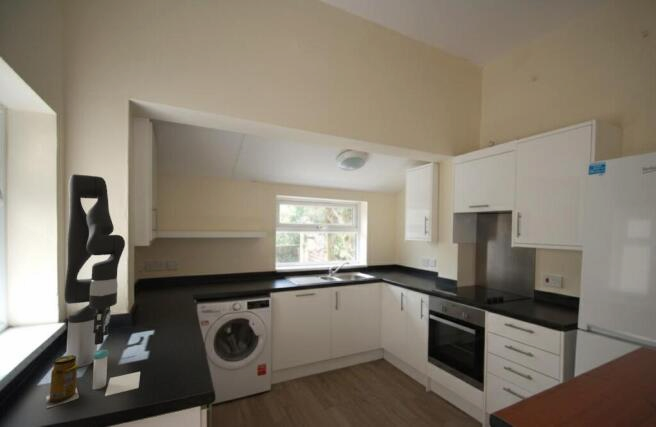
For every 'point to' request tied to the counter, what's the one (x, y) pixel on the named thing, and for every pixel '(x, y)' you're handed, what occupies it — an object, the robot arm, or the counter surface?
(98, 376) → the white bottle
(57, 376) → the condiment
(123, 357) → the counter surface
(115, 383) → the paper
